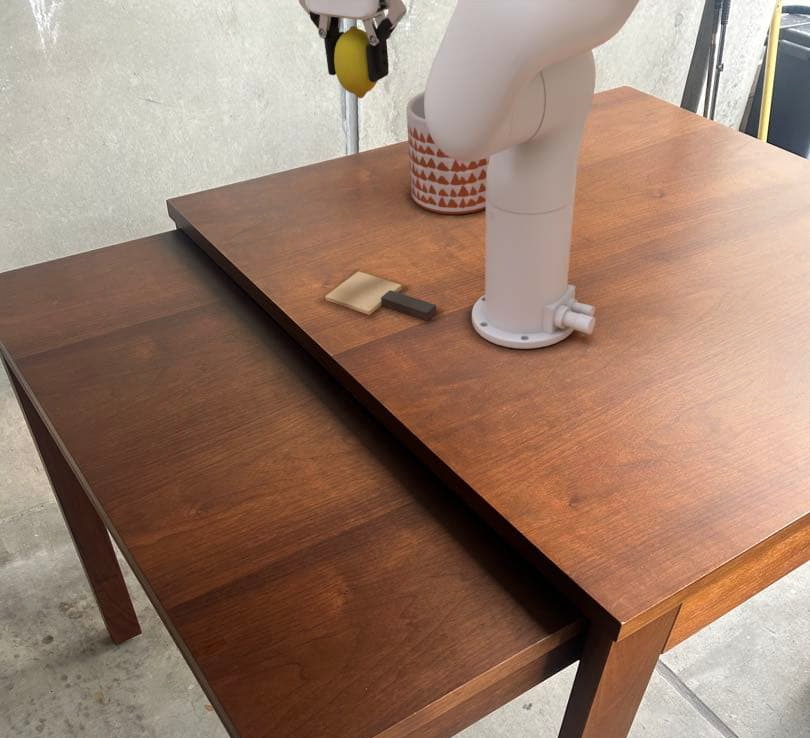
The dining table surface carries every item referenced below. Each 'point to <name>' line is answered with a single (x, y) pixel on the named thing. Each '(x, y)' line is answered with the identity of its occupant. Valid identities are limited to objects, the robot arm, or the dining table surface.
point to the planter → (441, 170)
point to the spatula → (378, 297)
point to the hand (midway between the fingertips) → (358, 73)
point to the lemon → (353, 62)
